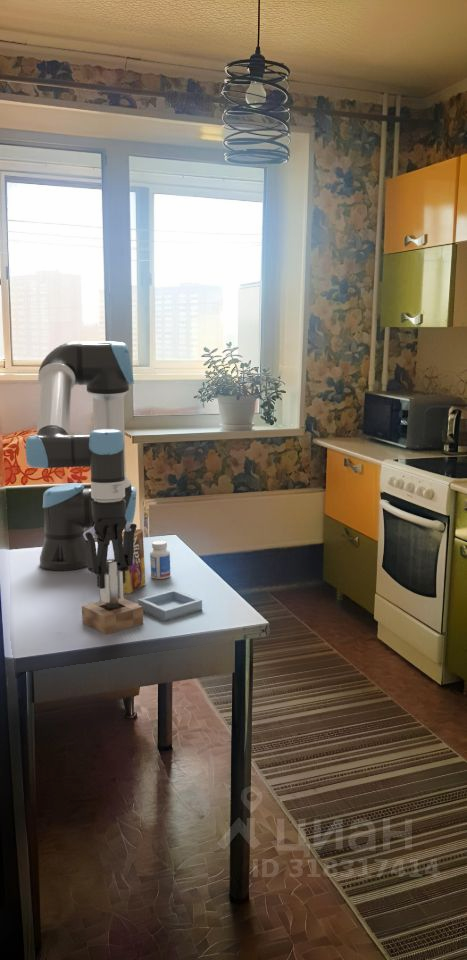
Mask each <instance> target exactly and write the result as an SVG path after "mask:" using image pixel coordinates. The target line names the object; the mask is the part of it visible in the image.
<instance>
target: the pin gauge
mask: <svg viewBox="0 0 467 960" xmlns="http://www.w3.org/2000/svg"><path fill="white" fill-rule="evenodd" d="M106 574H108V575H109V595H110V602H109V603H106V610H108V611H112V610H115V609H119V592H118V562H117V560H115V559H114V558H110V559H109V558H107V563H106Z"/></svg>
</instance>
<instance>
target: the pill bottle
mask: <svg viewBox="0 0 467 960" xmlns="http://www.w3.org/2000/svg"><path fill="white" fill-rule="evenodd" d="M151 545H152V546H151V548H152V549H151V550H150V552H149V559H150V560H149V561H150V563H149V564H150V577H151V578H152V579H155V580H165V579H168V578H170V576H171V556H170V555H171V554H170V550H169V549H167V548H168V545H167V541H165V540H156V541H155V540H154V541H152V543H151Z"/></svg>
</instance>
